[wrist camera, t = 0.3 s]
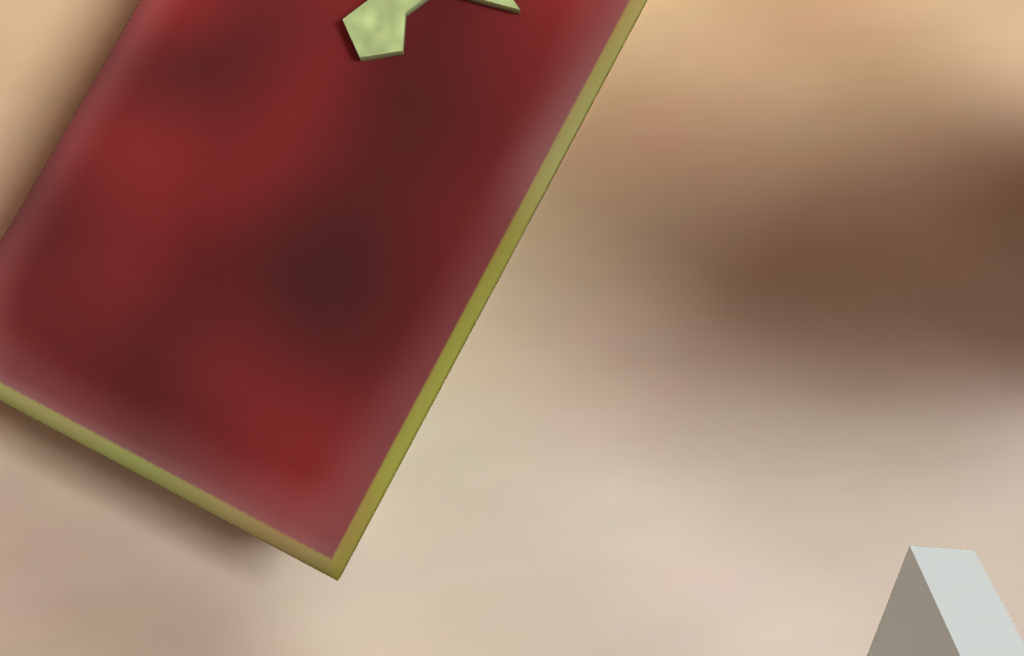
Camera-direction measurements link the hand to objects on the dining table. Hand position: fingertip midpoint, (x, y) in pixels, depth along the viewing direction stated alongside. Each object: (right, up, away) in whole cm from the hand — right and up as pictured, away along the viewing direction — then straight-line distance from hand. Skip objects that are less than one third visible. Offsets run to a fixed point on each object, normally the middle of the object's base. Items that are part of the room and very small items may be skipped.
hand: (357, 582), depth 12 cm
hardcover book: (-3, +9, +17) cm, 19 cm away
